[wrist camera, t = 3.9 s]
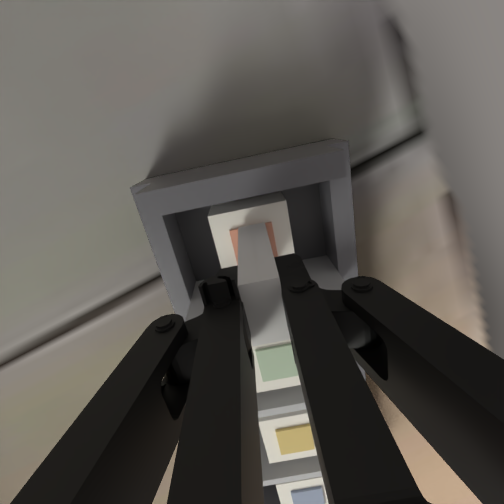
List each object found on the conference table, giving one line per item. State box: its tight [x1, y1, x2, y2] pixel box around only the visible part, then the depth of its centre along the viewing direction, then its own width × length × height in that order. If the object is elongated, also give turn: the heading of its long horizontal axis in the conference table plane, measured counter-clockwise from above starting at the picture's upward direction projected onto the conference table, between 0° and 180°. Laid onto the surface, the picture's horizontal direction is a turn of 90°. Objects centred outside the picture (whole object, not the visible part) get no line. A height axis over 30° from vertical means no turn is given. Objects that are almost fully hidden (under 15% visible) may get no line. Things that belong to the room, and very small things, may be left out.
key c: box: [208, 191, 295, 269], centre depth 18 cm, size 4×4×3 cm
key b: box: [276, 476, 329, 504], centre depth 25 cm, size 4×4×3 cm
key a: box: [251, 339, 301, 393], centre depth 19 cm, size 4×4×3 cm
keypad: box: [130, 139, 366, 504], centre depth 22 cm, size 12×30×6 cm, turn 11°
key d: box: [258, 409, 317, 463], centre depth 22 cm, size 4×4×3 cm
